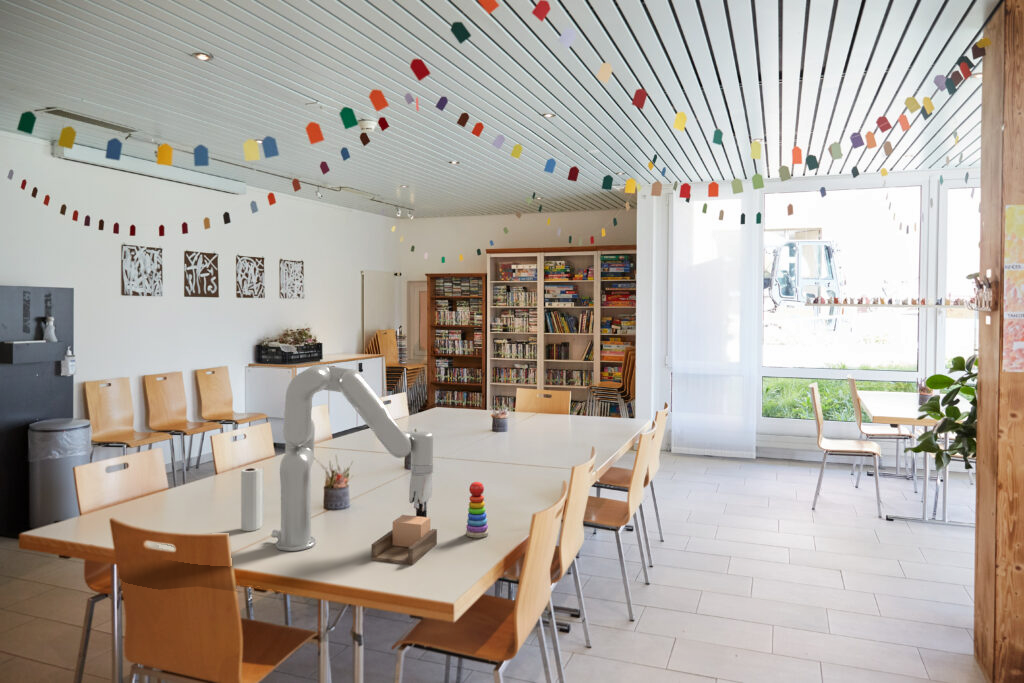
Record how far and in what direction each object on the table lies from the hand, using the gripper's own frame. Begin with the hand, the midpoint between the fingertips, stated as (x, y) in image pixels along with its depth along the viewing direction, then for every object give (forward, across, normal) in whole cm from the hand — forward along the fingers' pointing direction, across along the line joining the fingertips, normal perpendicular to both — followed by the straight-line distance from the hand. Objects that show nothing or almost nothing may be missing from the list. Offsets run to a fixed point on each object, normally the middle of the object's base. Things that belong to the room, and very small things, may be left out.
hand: (421, 521), depth 233 cm
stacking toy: (+6, -10, +17) cm, 21 cm away
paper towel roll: (+6, +8, -61) cm, 62 cm away
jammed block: (+5, +8, 0) cm, 10 cm away
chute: (+6, +13, 0) cm, 14 cm away
